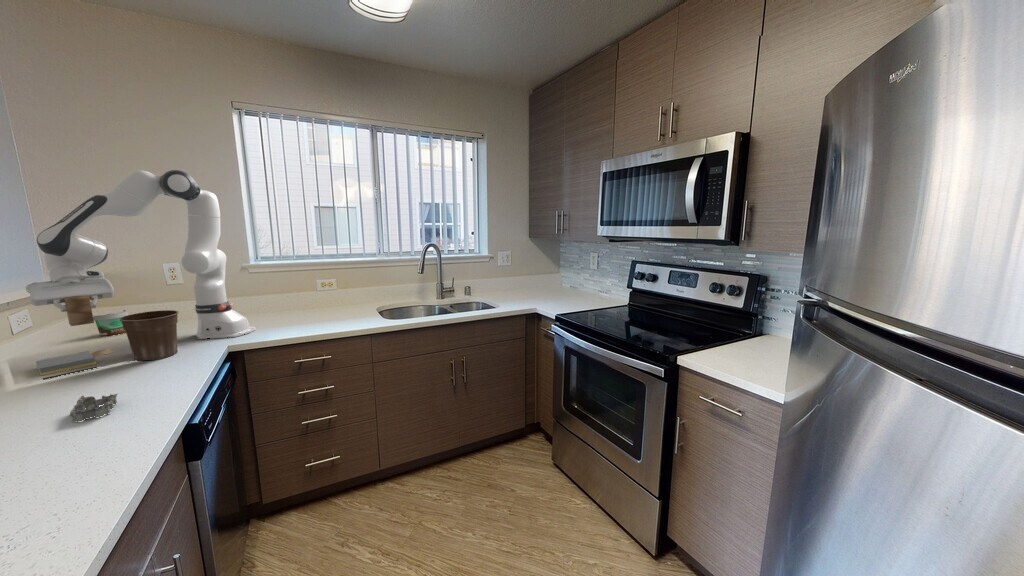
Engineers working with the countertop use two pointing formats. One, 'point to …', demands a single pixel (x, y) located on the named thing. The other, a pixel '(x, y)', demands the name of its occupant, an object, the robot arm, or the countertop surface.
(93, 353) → the pallet
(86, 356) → the dock
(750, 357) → the countertop surface
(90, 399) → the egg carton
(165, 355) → the plant pot
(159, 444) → the countertop surface
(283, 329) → the countertop surface
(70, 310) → the crate
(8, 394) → the countertop surface
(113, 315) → the food container
